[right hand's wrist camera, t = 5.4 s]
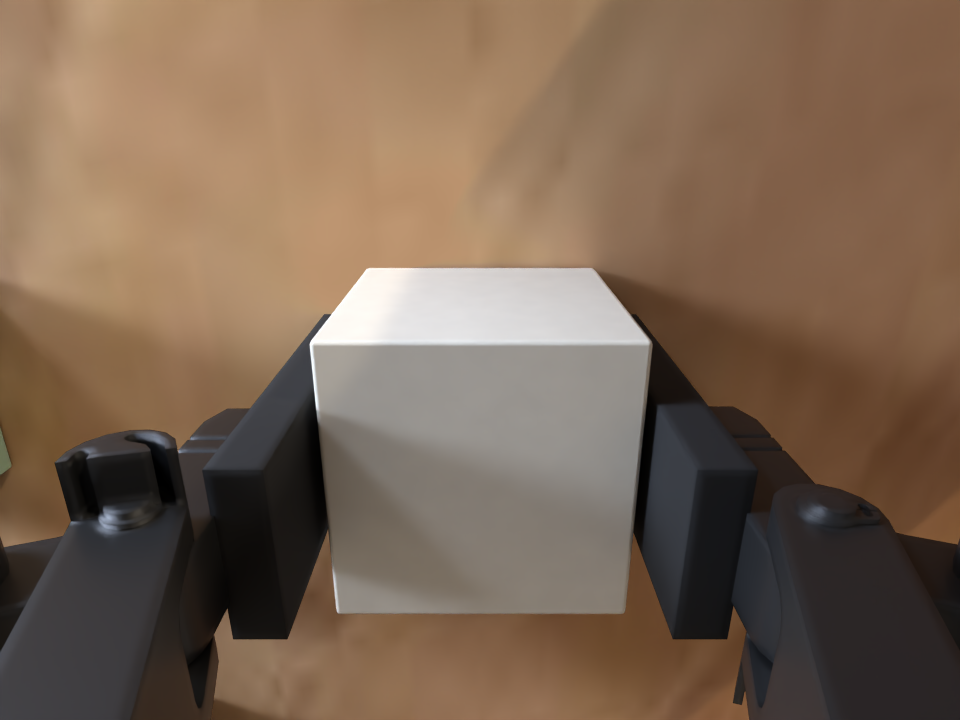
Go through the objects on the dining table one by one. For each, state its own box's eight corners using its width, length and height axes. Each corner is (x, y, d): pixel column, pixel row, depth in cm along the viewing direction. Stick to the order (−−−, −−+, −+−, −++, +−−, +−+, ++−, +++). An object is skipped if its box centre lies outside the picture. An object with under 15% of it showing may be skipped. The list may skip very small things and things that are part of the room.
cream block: (379, 467, 15) (335, 616, 11) (366, 267, 14) (307, 341, 9) (582, 467, 15) (626, 616, 11) (594, 267, 14) (654, 341, 9)
